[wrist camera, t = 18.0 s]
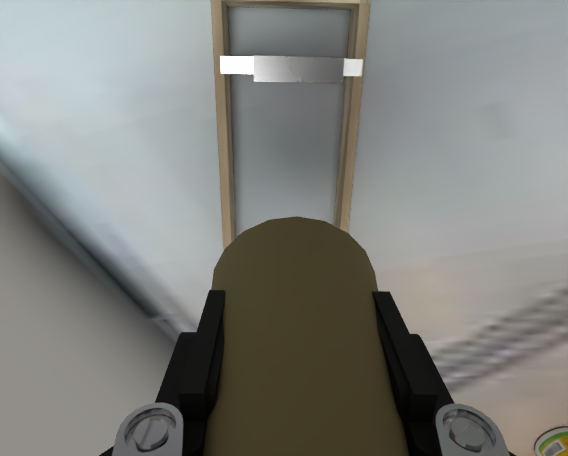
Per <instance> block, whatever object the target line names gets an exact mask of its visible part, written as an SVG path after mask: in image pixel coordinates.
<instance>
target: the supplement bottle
mask: <svg viewBox="0 0 568 456" xmlns="http://www.w3.org/2000/svg"><path fill="white" fill-rule="evenodd" d="M535 452H536V454H537V456H568V427H565V428H558V429H554V430H552V431H549V432H547V433H546V434H544V435H543V436H541V437H540V438H539V440H538V441H537V443H536V445H535Z"/></svg>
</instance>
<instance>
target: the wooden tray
mask: <svg viewBox="0 0 568 456" xmlns="http://www.w3.org/2000/svg"><path fill="white" fill-rule="evenodd" d="M370 1H371V0H211V15H212V35H213V54H214V73H215V93H216V112H217V132H218V151H219V171H220V190H221V209H222V229H223V248H224V250H225V248H226V247H227V246H228V245H229V244H231V243H232V242H233V241H234V240H235V239H236V226H235V198H234V170H233V143H232V115H231V87H230V74H226V73H221V63H220V56H229V31H228V7H266V8H307V9H348V10H351V14H350V26H349V39H348V51H347V59H363V64H362V75H361V76H345V89H344V101H343V114H342V126H341V139H340V152H339V164H338V177H337V189H336V202H335V214H334V226H335V227H337V228H339V229H341V230H343V231H345V232H347V233H348V227H349V217H350V206H351V196H352V186H353V176H354V165H355V155H356V145H357V135H358V124H359V114H360V104H361V94H362V83H363V73H364V63H365V53H366V42H367V32H368V22H369V12H370Z"/></svg>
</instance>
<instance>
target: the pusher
mask: <svg viewBox="0 0 568 456" xmlns="http://www.w3.org/2000/svg"><path fill="white" fill-rule="evenodd" d="M220 63H221V73H226V74H254V82H302V83H343V76H361V75H362V64H363V59H344V57H303V56H257V55H253V57H235V56H220Z"/></svg>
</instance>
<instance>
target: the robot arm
mask: <svg viewBox="0 0 568 456" xmlns="http://www.w3.org/2000/svg"><path fill="white" fill-rule="evenodd" d="M372 294H373V297H374V301H375V308H376V318H377V328H378V332H379V336H380V339H381V343H382V347H383V351H384V355H385V359H386V363H387V368H388V372H389V376H390V380H391V385H392V389H393V393H394V398H395V402H396V406H397V410H398V413H399V415H400V417H401V419H402V421H403V424H404V429H405V435H406V440H407V445H408V450H409V456H516V455H514V454H512V453H511V452H509V451H508V449H507V446H506V444H505V441H504V439H503V436H502V434H501V432H500V430H499V429H498V427H497V425H496V424H495V423H494V422H493V421H492V420H491V419H490V418H489V417H488V416H486V415H485V414H483V413H482V412H481V411H479V410H477V409H475V408H473V407H470V406H467V405H463V404H455V403H454V401H453V400H452V398H451V396H450V394H449V392H448V390H447V388H446V386H445V384H444V382H443V380H442V378H441V376H440V374H439V372H438V370H437V368H436V366H435V364H434V362H433V360H432V358H431V356H430V354H429V352H428V350H427V348H426V347H425V345H424V343H423V341H422V339H421V337H420V336H419V335H418V334H409V331H408V329H407V327H406V325H405V323H404V321H403V319H402V317H401V315H400V313H399V310H398V308H397V306H396V304H395V302H394V300H393V298H392V296H391V294H390V292H383V291H372ZM225 295H226V292H225V290H209V293H208V296H207V300H206V303H205V306H204V309H203V313H202V316H201V319H200V323H199V326H198V329H197V332H182V333H180V335H179V337H178V340H177V343H176V346H175V348H174V352H173V354H172V357H171V360H170V363H169V365H168V368H167V371H166V373H165V376H164V379H163V382H162V385H161V387H160V390H159V393H158V396H157V399H156V401H155V403H151V404H147V405H144V406H142V407H140V408H138V409H136V410H135V411H133V412H132V413H131V414H129V415H128V416H127V417H126V418H125V420H124V421H123V422H122V423H121V425H120V427H119V429H118V432H117V435H116V439H115V444H114V446H113V447H111V448H110V449H108V450H107V451H105V452H104V453H102V454H101V455H99V456H203V445H204V436H205V429H206V422H207V418H208V416H209V415H210V413H211V411H212V410H213V408H214V407H215V405H216V398H217V390H218V383H219V375H220V368H221V362H222V355H223V348H224V342H225V340H224V326H223V307H224V301H225Z"/></svg>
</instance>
